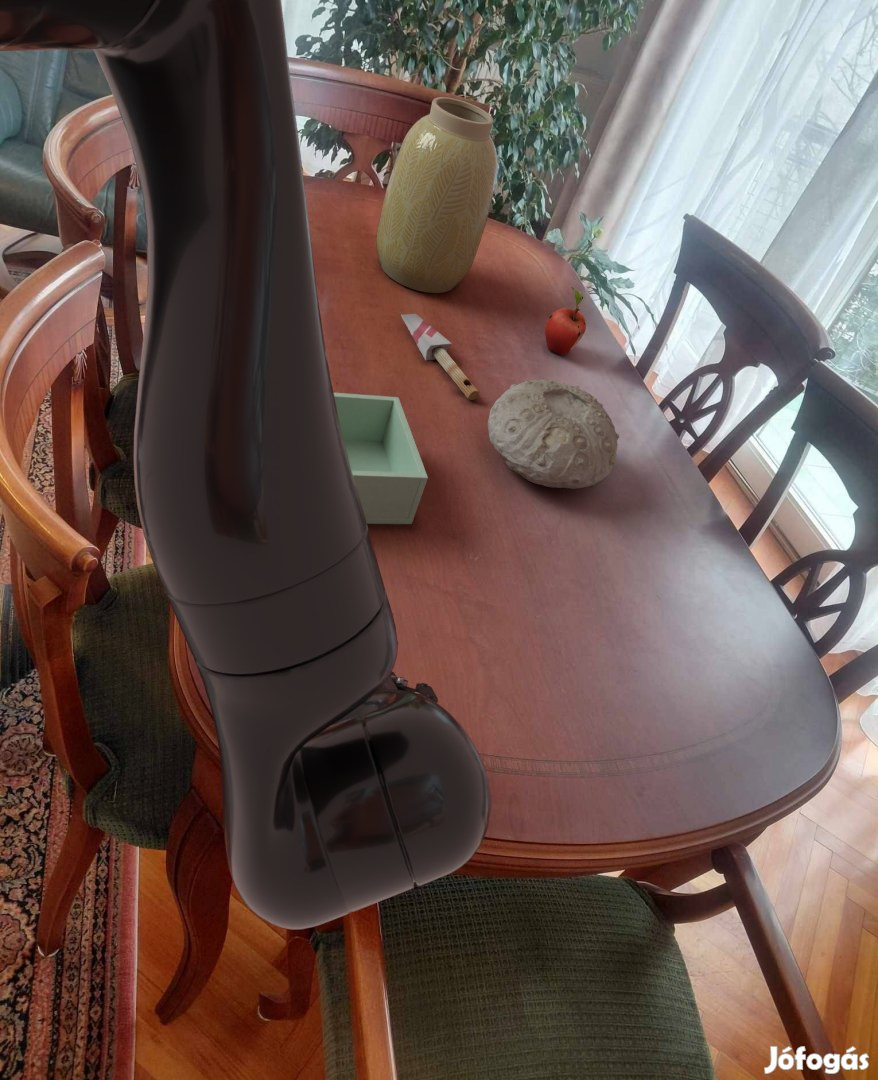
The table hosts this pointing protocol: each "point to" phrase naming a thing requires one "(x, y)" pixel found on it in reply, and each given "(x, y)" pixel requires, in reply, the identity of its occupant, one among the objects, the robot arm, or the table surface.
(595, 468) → the decorative shell
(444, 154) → the vase
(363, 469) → the bin
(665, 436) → the table surface
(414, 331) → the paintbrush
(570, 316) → the apple
